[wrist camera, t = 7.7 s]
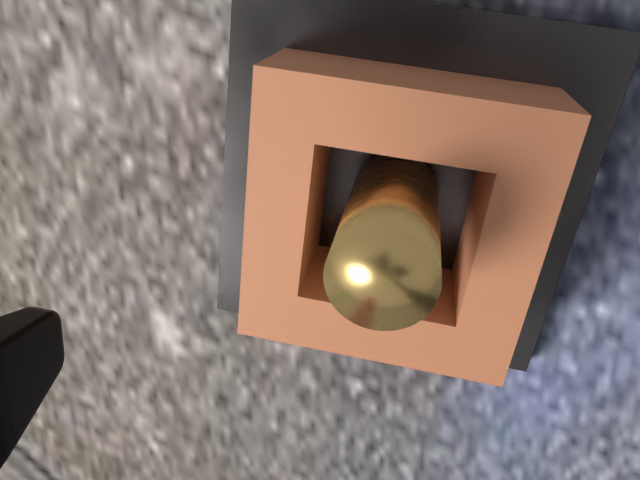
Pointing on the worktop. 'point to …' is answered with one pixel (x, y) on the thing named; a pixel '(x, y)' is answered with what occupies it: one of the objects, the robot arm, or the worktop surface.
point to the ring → (414, 144)
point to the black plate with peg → (409, 175)
